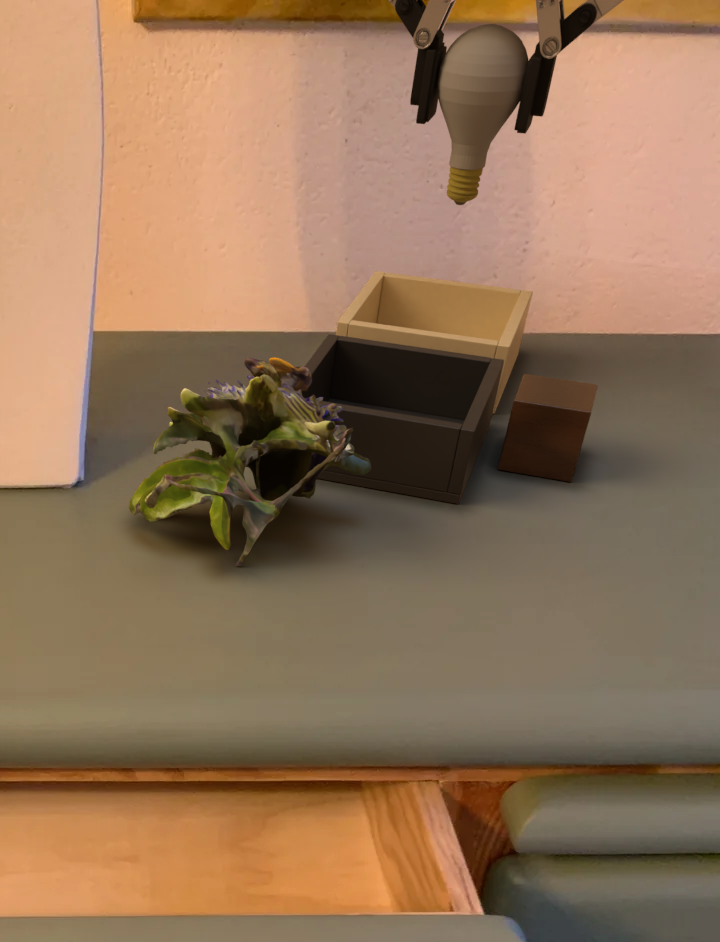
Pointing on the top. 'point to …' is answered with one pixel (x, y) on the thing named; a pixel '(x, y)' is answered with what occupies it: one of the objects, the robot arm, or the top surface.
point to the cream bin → (440, 317)
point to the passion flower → (248, 450)
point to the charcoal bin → (407, 412)
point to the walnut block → (547, 427)
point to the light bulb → (478, 99)
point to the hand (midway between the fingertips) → (474, 120)
